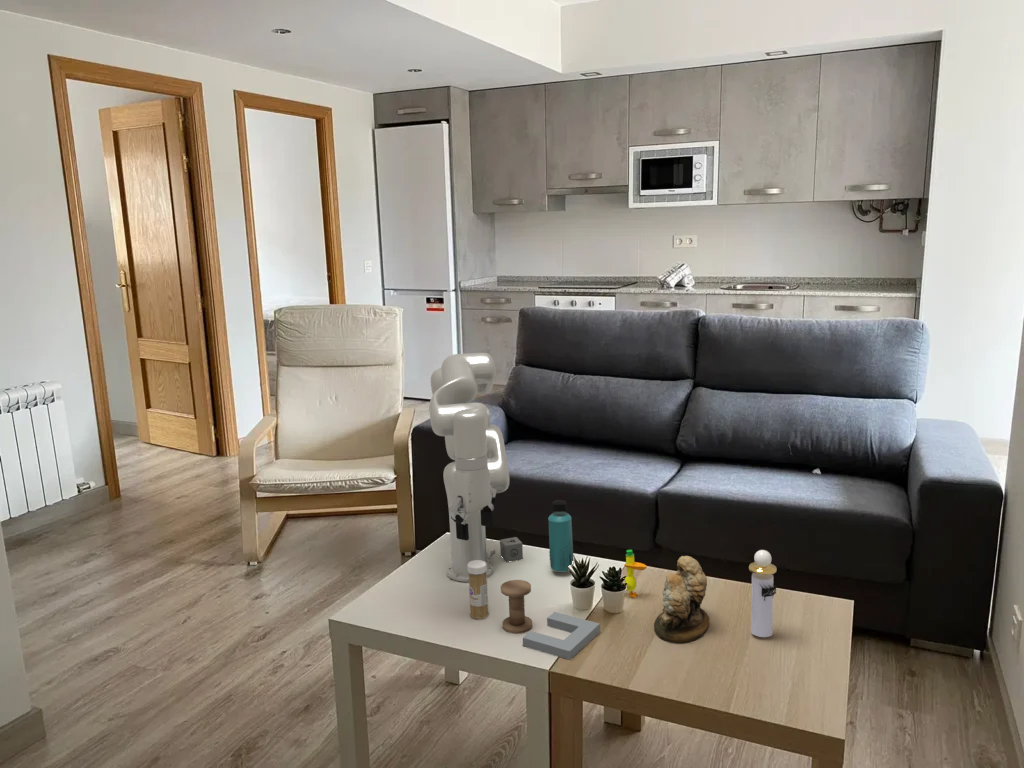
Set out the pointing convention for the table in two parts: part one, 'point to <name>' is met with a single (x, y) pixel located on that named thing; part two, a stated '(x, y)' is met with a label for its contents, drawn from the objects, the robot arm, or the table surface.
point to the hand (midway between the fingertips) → (475, 532)
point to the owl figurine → (683, 604)
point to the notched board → (568, 646)
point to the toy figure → (632, 572)
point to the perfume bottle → (762, 594)
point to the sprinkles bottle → (478, 589)
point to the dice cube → (511, 549)
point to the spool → (516, 606)
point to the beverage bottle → (560, 537)
